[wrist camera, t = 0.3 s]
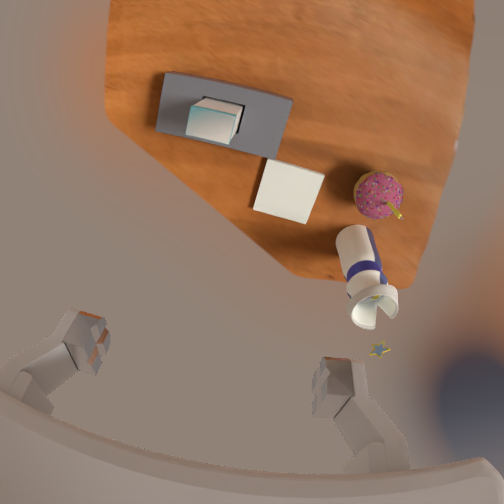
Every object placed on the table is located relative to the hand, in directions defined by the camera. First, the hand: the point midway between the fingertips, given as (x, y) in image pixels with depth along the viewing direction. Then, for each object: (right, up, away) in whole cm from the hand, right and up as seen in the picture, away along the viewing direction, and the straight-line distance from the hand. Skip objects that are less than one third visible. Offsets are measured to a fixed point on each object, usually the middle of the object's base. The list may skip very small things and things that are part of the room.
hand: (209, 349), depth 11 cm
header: (-3, +26, +38) cm, 46 cm away
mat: (+8, +14, +45) cm, 48 cm away
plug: (-3, +26, +38) cm, 46 cm away
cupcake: (+23, +15, +43) cm, 51 cm away
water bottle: (+22, +6, +50) cm, 55 cm away
